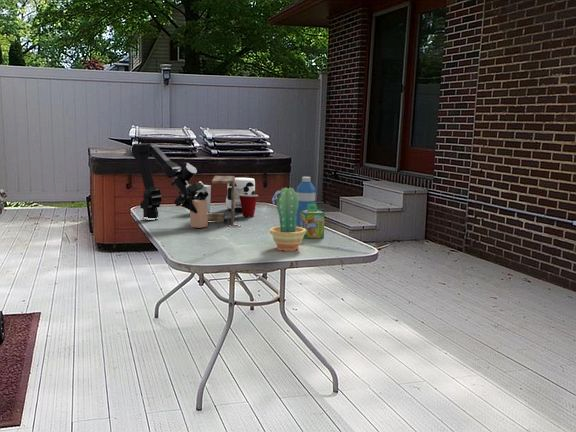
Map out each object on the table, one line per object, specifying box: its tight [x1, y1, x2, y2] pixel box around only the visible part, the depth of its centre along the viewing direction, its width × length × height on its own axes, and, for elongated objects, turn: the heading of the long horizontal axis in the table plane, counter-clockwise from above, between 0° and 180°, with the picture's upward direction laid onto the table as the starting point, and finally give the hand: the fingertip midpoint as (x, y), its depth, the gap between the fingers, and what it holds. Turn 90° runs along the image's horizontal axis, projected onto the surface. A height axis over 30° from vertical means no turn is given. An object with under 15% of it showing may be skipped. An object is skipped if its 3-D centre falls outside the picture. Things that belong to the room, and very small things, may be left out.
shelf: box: [207, 175, 236, 226], centre depth 300 cm, size 14×24×22 cm, turn 4°
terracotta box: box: [189, 200, 209, 228], centre depth 280 cm, size 6×6×12 cm
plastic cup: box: [239, 194, 259, 218], centre depth 315 cm, size 11×11×12 cm
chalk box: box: [300, 203, 326, 239], centre depth 265 cm, size 9×9×15 cm
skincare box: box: [196, 184, 212, 214], centre depth 321 cm, size 8×7×16 cm
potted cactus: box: [269, 187, 307, 252], centre depth 239 cm, size 15×15×25 cm
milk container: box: [225, 177, 256, 212], centre depth 333 cm, size 17×17×18 cm
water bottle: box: [295, 176, 317, 227], centre depth 283 cm, size 9×9×25 cm
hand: (200, 212), depth 279 cm, fingers closed on terracotta box, 5 cm apart
